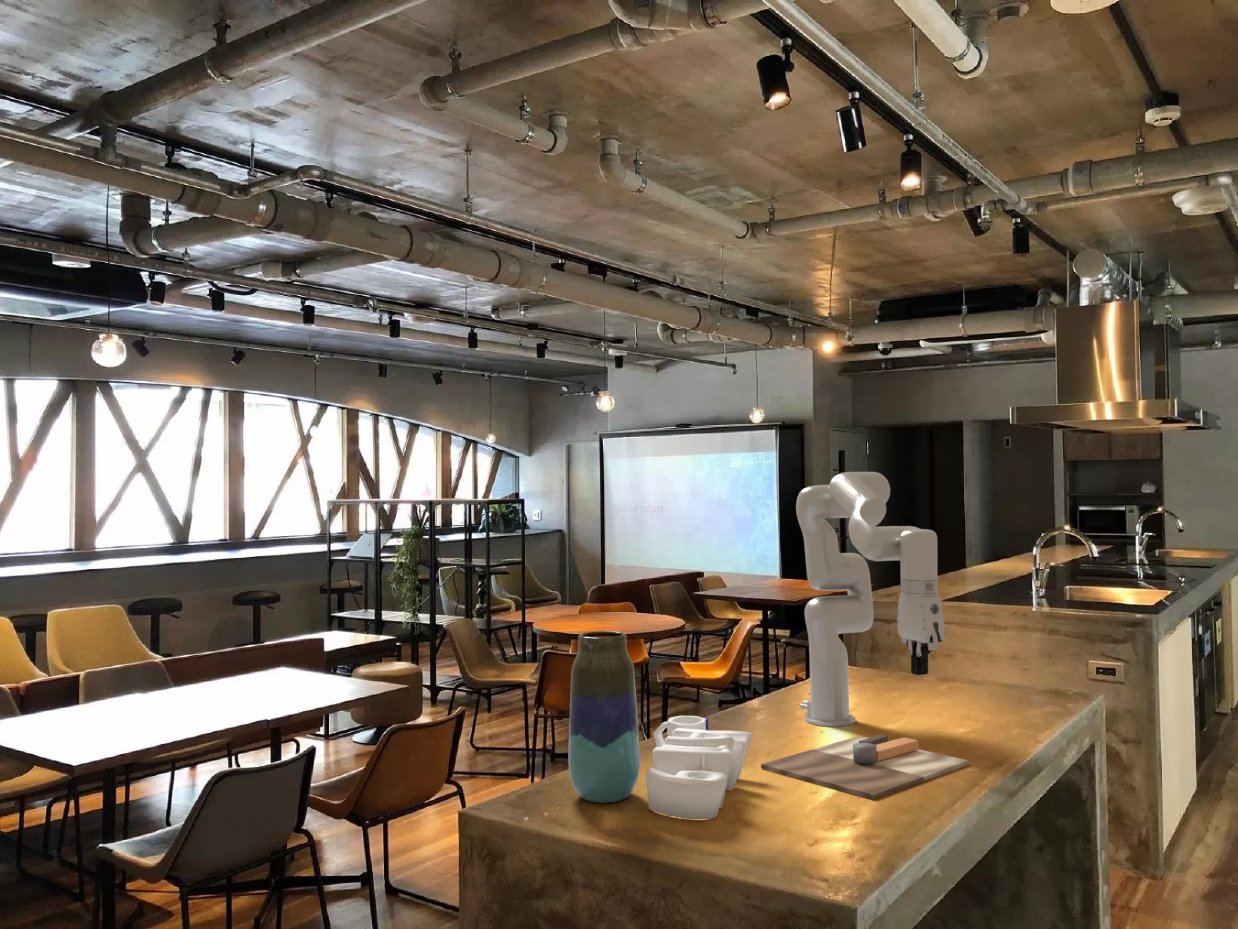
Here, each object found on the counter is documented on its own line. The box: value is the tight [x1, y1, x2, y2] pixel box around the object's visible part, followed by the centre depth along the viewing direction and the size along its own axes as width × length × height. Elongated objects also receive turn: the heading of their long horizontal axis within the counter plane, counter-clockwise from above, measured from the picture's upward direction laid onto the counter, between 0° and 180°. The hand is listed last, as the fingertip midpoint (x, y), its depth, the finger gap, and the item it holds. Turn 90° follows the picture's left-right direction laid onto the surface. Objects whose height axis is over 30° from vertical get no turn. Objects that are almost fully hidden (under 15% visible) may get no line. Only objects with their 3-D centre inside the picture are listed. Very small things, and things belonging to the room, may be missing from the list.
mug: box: [653, 715, 706, 747], centre depth 204 cm, size 12×9×10 cm
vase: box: [567, 630, 641, 804], centre depth 184 cm, size 14×14×31 cm
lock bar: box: [853, 736, 920, 764], centre depth 204 cm, size 18×5×3 cm, turn 127°
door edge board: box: [760, 734, 970, 801], centre depth 200 cm, size 28×34×3 cm
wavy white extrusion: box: [645, 728, 753, 820], centre depth 183 cm, size 35×16×11 cm, turn 160°
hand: (919, 673), depth 201 cm, fingers closed
